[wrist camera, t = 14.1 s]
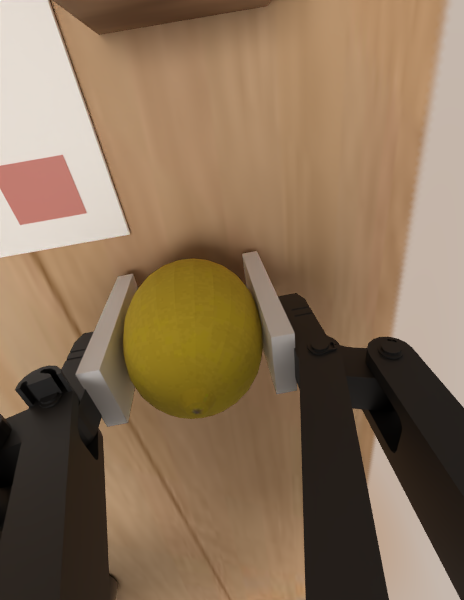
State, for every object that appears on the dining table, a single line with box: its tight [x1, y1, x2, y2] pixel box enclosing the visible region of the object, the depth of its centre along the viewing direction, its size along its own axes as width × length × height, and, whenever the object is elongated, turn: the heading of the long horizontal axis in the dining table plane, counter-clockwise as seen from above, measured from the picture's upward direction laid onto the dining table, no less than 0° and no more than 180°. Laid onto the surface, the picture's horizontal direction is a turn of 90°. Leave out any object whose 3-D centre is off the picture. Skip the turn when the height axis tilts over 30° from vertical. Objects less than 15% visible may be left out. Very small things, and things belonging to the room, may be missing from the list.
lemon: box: [123, 258, 263, 419], centre depth 12 cm, size 6×6×8 cm
